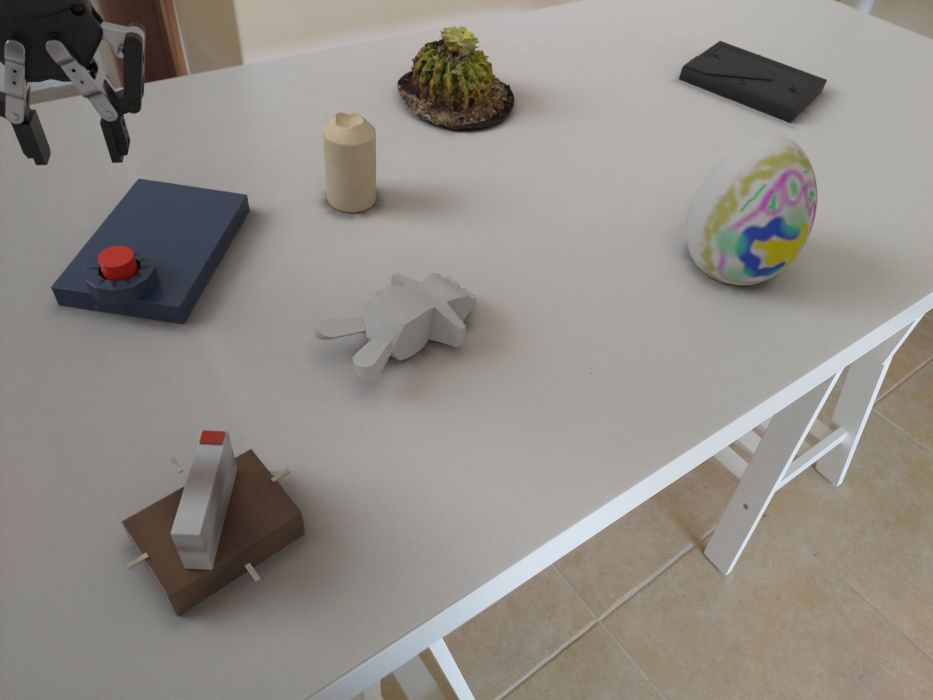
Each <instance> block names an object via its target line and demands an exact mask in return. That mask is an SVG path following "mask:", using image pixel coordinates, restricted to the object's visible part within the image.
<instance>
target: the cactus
mask: <svg viewBox="0 0 933 700" xmlns="http://www.w3.org/2000/svg"><path fill="white" fill-rule="evenodd" d="M440 33H441V34H440V37H441V38H439V39H438V40H432V41H430V42H428V41H426V43H424V45H423V46H421V48H419V49H418V51H417V54H416V52H415V54H414V57H413V58H411V61H412V64H413V65H410V67H411V68H410V71H407V72H406V73H405V74H403V75H402V76H401V77H400V78H399V79H398V80H397V85H396V86H397V90H398V93H399V95H400V97H401V99H402V101H403V104H404V105H407V109H408V110H409V111H410V113H411V114H412V115H413V116H416V117H419V118H421V119H422V120H423V121H425V122H429V123H432V124H435V125H436V126H444V127H446V128H447V129H450V130H454V131H455V130H456V131H459V130H460V129H469V130H473V129H474V130H475V129H483V128H486V127H488V126H491V125H494V124H497V123H500V122H503V121H504V120H505V118H506V117H508V116H509V115H510V113H511V112H512V110H513V108H514V105H515V94H514V92H513V90H512V89H511V86H510V84H509V83H508V84H506V83H505V82H503V81H501V80H500V79H499V78H498V77H497V75H495V74H494V73H493V63H492V62H490V61H489V60H488V58H490V56H489V55H485V52H484V51H483V49H480V50H479V49H478V48H480V47H482V46H478V45H477V44H479V43H480V42H479V39H478V38H477V36H476V34H474V32H473V31H469V29H467V28H466V26H461V25H459V27H457V26H456V25H453V27H452V26H449V27H448V28H447V27H444V28H443V30H440ZM476 49H477V50H476Z"/></svg>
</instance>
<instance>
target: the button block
mask: <svg viewBox="0 0 933 700" xmlns="http://www.w3.org/2000/svg"><path fill="white" fill-rule="evenodd" d="M250 212H251V209H250V203H249V197H248V194H245V193H238V192H232V191H225V190H218V189H211V188H205V187H198V186H192V185H185V184H179V183H171V182H165V181H158V180H152V179H146V178H137V179H136V181H135V182H134V183H133V184H132V186H131V187H130V188H129V189H128V191H127V192H126V193H125V195H124V196H123V197H122V198H121V200H120V201H119V202H118V203H117V204H116V205H115V207H114V208H112V211H111V212H110V213H109V214H108V215H107V216H106V218H105V219H104V220H103V221H102V223H101V224H100V226H99V227H98V228H97V229H96V231H95V232H94V233H93V234H92V236H91V237H90V238H89V239H88V240H87V242H86V243H85V244H84V245H83V247H81V249H80V250H79V251H78V252H77V254H76V255H75V256H74V258H73V259H72V260H71V261H70V263H69V264H68V265H67V267H66V268H65V269H64V270H63V271H62V273H61V274H60V275H59V276H58V278H57V279H56V280H55V281H54V282H53V284H52V285H51V287H50V289H51V291H52V293H53V296H54V298H55V300H56V302H57V305H59V306H64V307H65V306H66V307H71V308H78V309H85V310H91V311H96V312H103V313H110V314H117V315H122V316H123V315H124V316H128V317H135V318H141V319H147V320H155V321H161V322H167V323H174V324H181V325H184V324H185V323H186V321H187V320H188V317H189V316H190V315H191V313H192V311H193V309H194V307H195V306H196V304H197V303H198V301H199V300H200V297H201V295H202V294H203V292H204V291H205V289H206V287H207V285H208V284H209V282H210V281H211V279H212V277H213V275H214V273H215V272H216V270H217V268H218V266H219V265H220V263H221V261H222V259H223V258H224V256H225V254H226V253H227V251H228V249H229V247H230V246H231V244H232V242H233V241H234V239H235V237H236V235H238V232H239V231H240V228H241V227H242V225H243V224H244V223H245V220H246V219H247V217H248V215H249V213H250ZM113 246H125V247H128V248H130V249H131V250H132V251H133V253H134V256H135V259H136V262H137V266H138V272H137V273H136V275H134V276H132V277H130V278H129V279H126V280H121V281H110V280H107V279H106V278H105V277H104V276H103V274H102V271H101V268H100V265H99V263H98V256H99V254H100V253H101V252H102V251H103V250H105V249H107V248H109V247H113Z"/></svg>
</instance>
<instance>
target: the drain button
mask: <svg viewBox="0 0 933 700" xmlns="http://www.w3.org/2000/svg"><path fill="white" fill-rule="evenodd" d="M98 263H99V265H100V268H101V271H102V274H103V276H104V277H105V278H106V279H107V280H110V281H121V280H126V279H129V278H130V277H132V276H134V275H136V273H137V272H138V266H137V262H136V259H135V256H134V253H133V251H132V250H131V249H130V248H128V247H125V246H113V247H109V248H107V249H105V250H103V251H102V252H101V253H100V254H99V256H98Z"/></svg>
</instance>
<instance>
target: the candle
mask: <svg viewBox="0 0 933 700" xmlns="http://www.w3.org/2000/svg"><path fill="white" fill-rule="evenodd" d="M376 132H377V131H376V127H375V126H374V125H373V124H372V123H370V121H368V120H367V119H366V118H365V117H364V116H363V115H362V114H361V113H360V112H353V113H350V114H347V113H345V112H337V113H335V115H333V117H332V118H330V120H329V121H328V122H327V123H326V124H325V125H324V126H323V128H322V144H323V157H324V172H325V173H324V174H325V187H326V197H327V198H326V199H327V201H328V205H330V206H331V207H332V208H333V209H335V210H337V211H340V212H343V213H344V212H345V213H349V214H351V213H352V214H353V213H360V212H364V211H367V210H369V209H371V208H372V207H373V206H374V205H375V203H376V200H377V133H376Z"/></svg>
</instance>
